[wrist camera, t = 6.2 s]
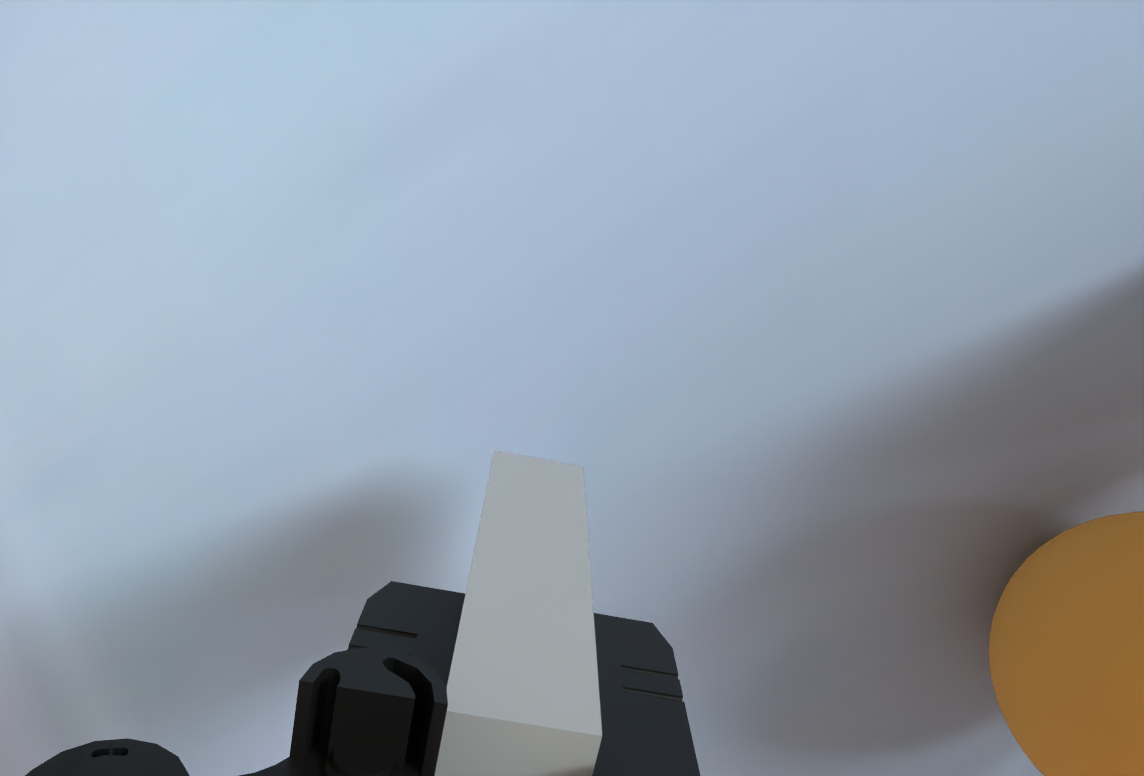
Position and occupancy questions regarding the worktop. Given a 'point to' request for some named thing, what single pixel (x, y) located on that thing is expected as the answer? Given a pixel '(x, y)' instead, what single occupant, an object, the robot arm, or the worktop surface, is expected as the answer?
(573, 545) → the robot arm
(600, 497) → the worktop surface
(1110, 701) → the ball
